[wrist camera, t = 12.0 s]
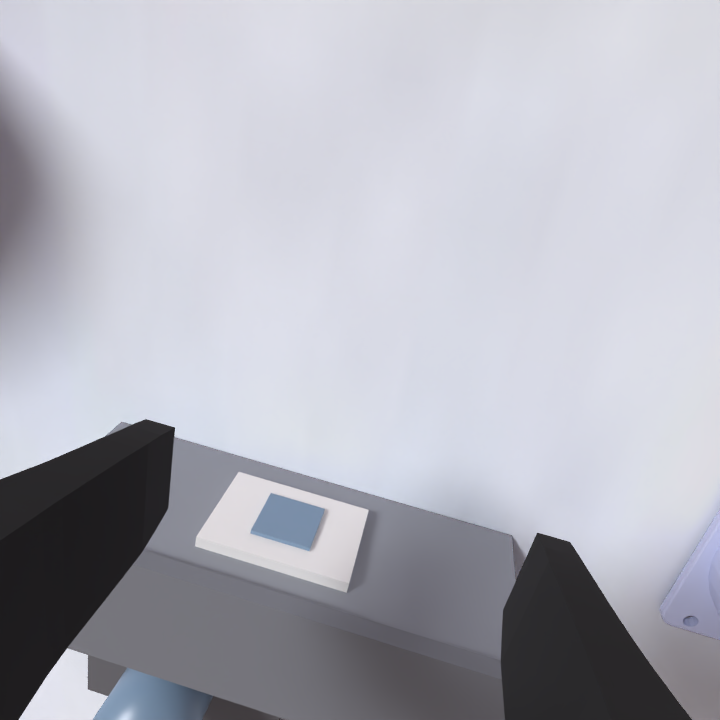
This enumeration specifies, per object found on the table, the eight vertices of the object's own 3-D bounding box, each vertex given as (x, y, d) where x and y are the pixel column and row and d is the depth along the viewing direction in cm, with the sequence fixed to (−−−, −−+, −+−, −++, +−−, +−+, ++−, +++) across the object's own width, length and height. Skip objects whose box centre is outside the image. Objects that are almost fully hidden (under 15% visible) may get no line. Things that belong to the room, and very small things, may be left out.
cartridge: (240, 660, 26) (188, 772, 22) (200, 698, 28) (144, 809, 24) (169, 610, 26) (101, 713, 22) (133, 652, 28) (64, 755, 23)
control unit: (524, 526, 22) (543, 685, 16) (485, 618, 24) (488, 788, 18) (114, 408, 23) (-12, 512, 17) (112, 504, 25) (-1, 627, 19)
